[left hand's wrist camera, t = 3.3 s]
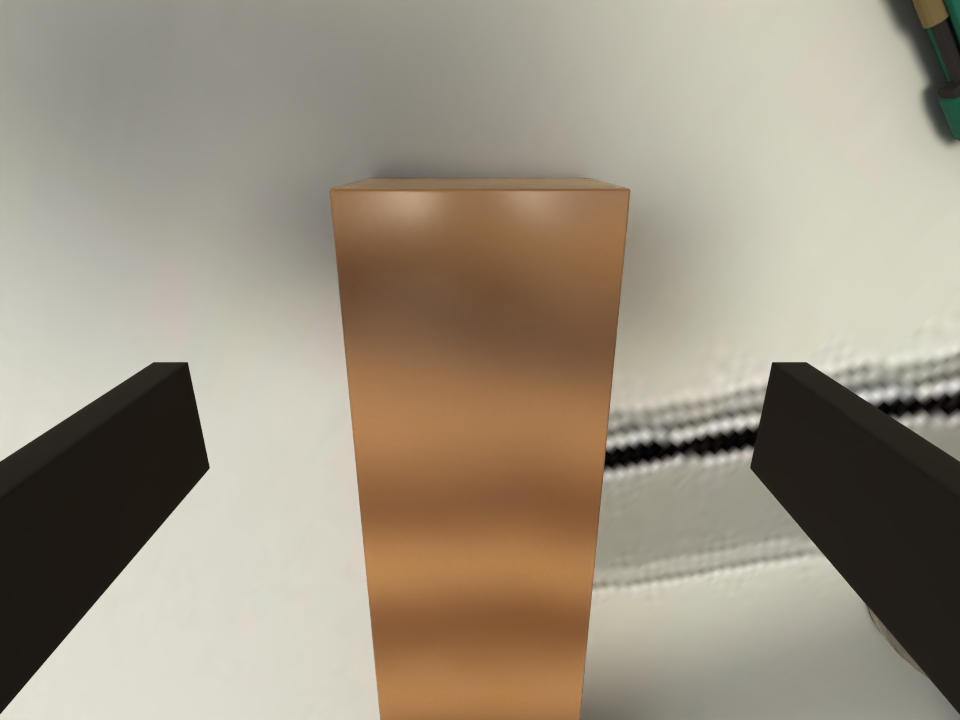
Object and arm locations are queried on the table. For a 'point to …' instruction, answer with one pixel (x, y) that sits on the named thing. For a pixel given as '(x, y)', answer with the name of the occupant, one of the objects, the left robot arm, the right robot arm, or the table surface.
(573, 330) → the wooden beam
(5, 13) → the table surface
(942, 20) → the spray gun
